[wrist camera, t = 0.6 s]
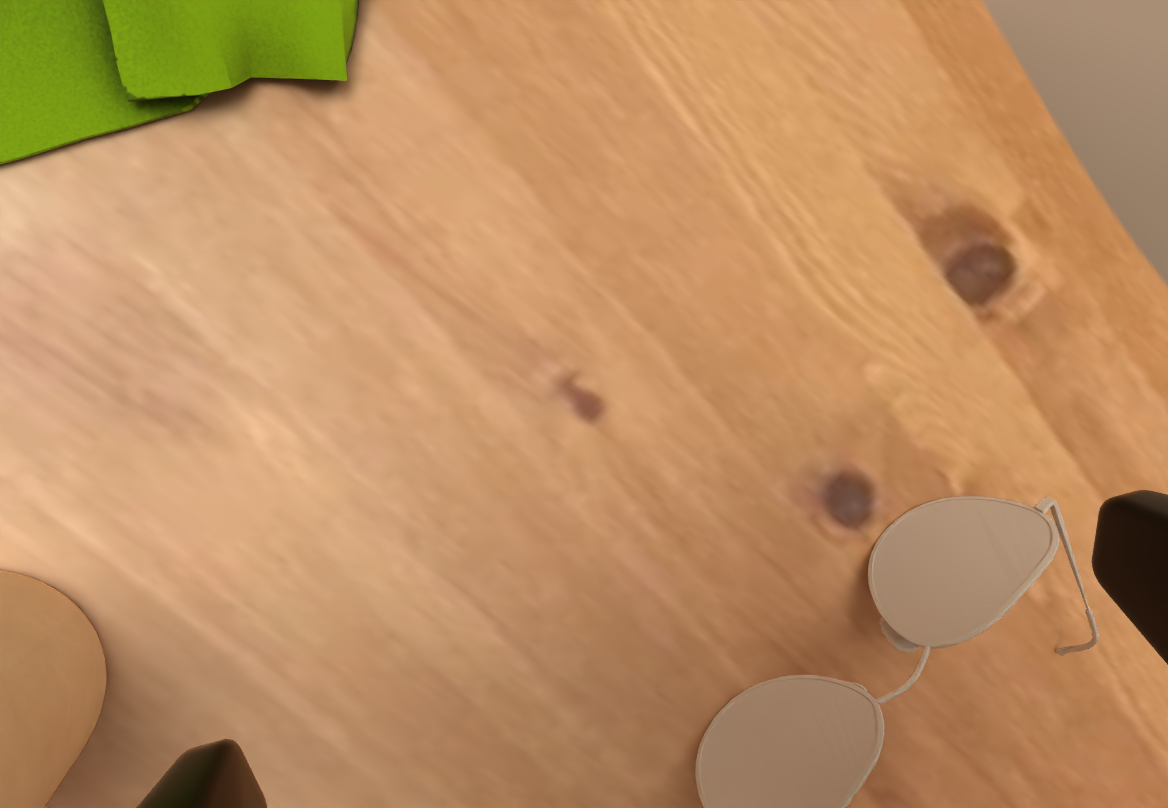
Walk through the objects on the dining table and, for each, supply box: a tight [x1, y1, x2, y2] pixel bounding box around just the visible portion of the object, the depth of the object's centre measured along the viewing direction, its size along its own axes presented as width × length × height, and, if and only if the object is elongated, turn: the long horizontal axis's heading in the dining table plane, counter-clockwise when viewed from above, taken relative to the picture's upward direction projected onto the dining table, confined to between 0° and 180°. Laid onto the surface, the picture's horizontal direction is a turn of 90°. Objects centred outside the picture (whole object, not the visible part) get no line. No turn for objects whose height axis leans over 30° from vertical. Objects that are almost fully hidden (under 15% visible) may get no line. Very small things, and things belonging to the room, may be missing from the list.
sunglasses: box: [696, 496, 1099, 808], centre depth 24 cm, size 14×8×5 cm, turn 130°
